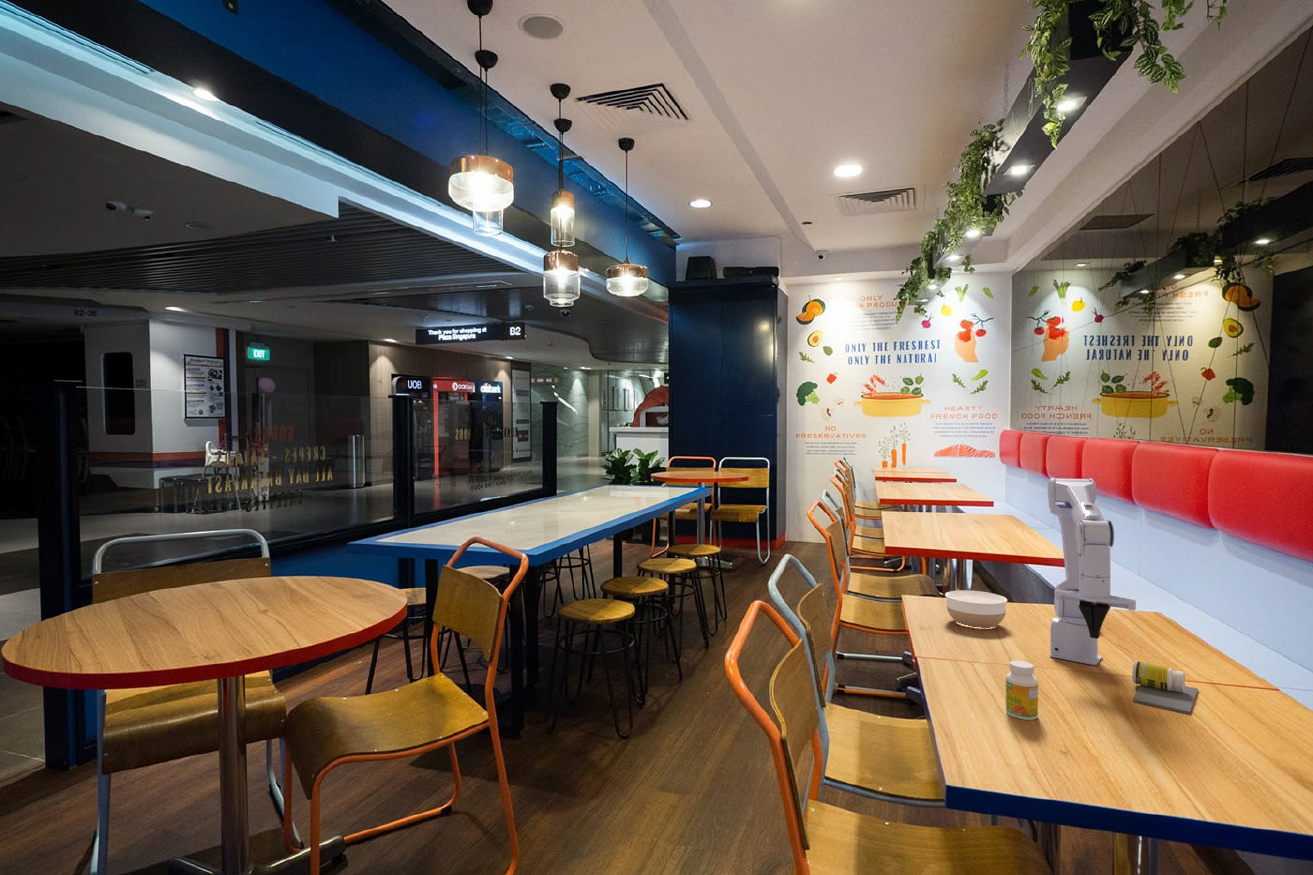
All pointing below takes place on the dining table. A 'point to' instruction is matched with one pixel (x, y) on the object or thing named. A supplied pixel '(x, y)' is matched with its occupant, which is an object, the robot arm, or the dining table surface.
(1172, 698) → the mat
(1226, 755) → the dining table surface
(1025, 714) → the supplement bottle
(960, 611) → the bowl
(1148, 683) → the supplement bottle
